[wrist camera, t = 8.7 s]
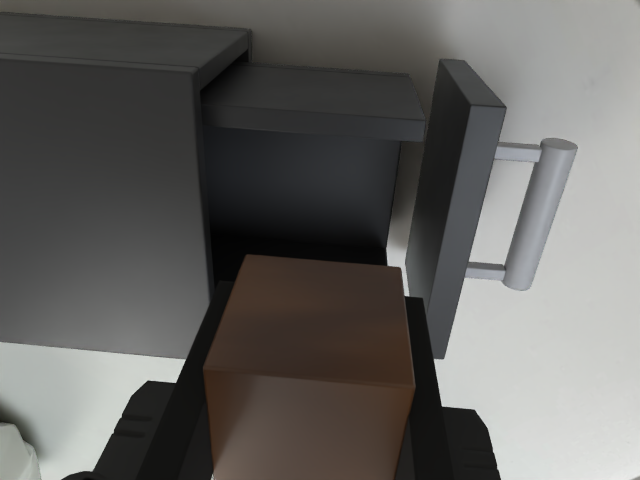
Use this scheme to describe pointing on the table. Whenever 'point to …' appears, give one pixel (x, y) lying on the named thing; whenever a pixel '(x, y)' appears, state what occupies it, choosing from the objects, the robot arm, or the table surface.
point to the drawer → (367, 175)
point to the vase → (16, 456)
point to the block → (310, 372)
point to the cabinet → (106, 181)
